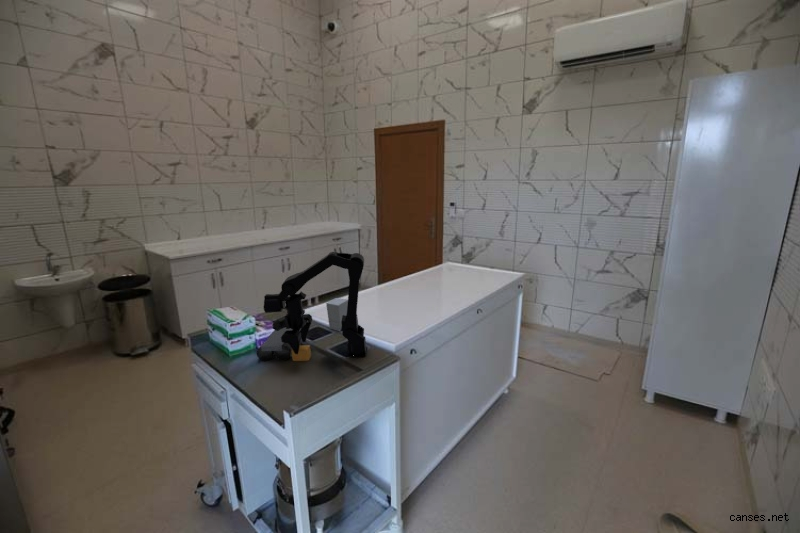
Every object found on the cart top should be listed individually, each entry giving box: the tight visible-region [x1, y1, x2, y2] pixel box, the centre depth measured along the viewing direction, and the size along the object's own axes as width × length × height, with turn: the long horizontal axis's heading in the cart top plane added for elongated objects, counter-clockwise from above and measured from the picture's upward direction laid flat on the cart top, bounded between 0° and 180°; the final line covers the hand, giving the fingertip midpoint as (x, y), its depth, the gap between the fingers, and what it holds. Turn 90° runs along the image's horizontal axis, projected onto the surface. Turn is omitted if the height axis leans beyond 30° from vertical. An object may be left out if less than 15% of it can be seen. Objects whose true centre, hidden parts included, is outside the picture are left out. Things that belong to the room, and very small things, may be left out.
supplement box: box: [326, 297, 348, 332], centre depth 164 cm, size 7×7×13 cm
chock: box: [291, 344, 312, 362], centre depth 141 cm, size 6×4×4 cm, turn 88°
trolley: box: [256, 328, 293, 362], centre depth 146 cm, size 13×15×6 cm
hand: (300, 347), depth 140 cm, fingers open, 9 cm apart
